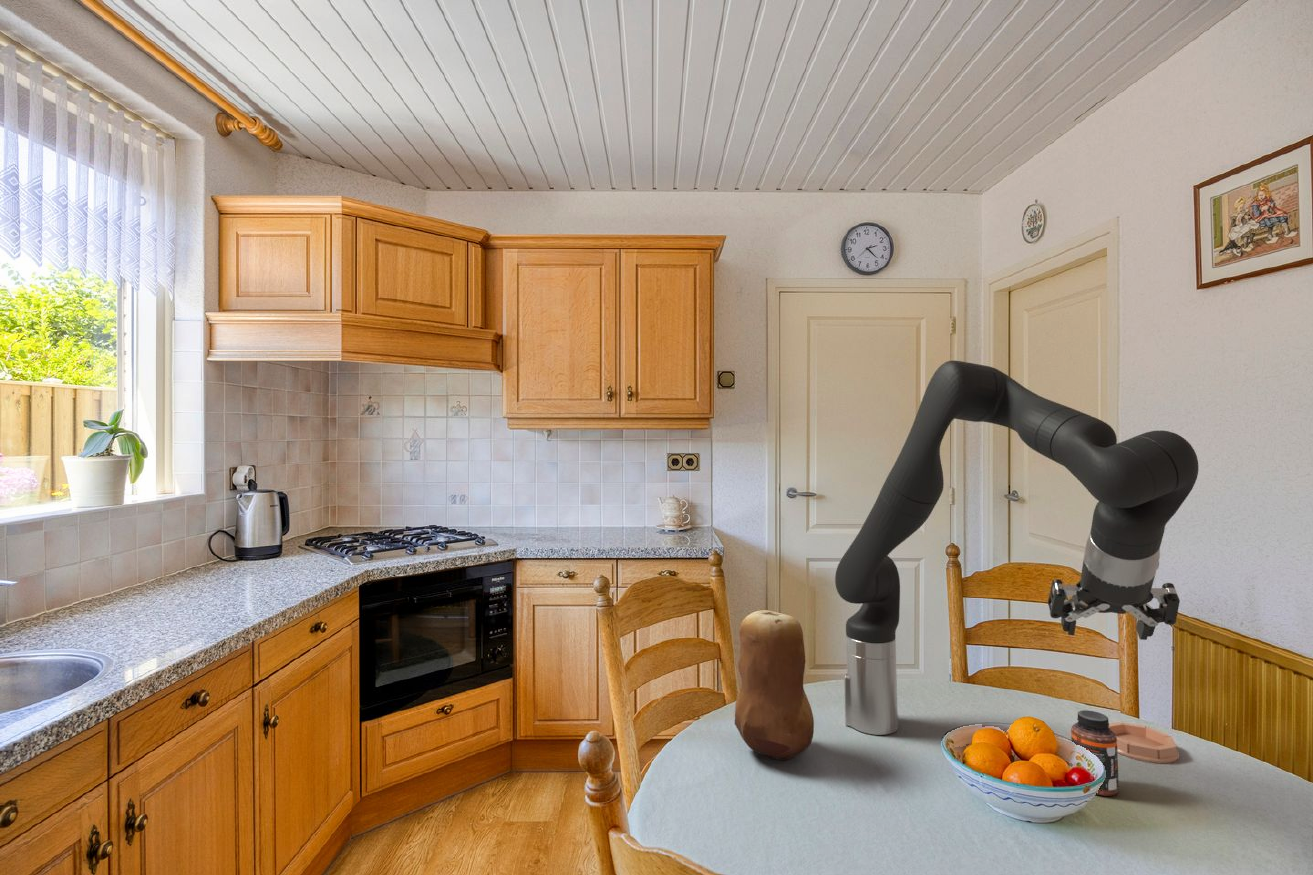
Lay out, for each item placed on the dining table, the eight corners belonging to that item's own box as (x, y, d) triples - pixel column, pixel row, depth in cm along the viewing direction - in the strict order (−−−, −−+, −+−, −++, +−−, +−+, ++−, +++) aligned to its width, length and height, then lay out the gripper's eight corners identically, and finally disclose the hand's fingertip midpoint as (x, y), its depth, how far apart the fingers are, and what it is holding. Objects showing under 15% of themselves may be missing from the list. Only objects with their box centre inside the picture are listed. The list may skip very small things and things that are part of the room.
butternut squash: (808, 737, 114) (805, 603, 115) (820, 774, 101) (816, 623, 102) (734, 734, 116) (731, 603, 116) (736, 771, 102) (733, 622, 103)
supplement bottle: (1127, 799, 92) (1124, 724, 93) (1083, 795, 93) (1081, 721, 94) (1106, 778, 98) (1104, 708, 98) (1065, 775, 99) (1063, 705, 100)
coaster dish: (1104, 753, 106) (1103, 740, 106) (1097, 728, 116) (1096, 716, 116) (1186, 769, 101) (1185, 755, 101) (1171, 741, 110) (1171, 729, 110)
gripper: (1179, 539, 78) (1157, 612, 88) (1049, 538, 84) (1042, 607, 93) (1200, 587, 73) (1174, 660, 82) (1060, 582, 79) (1051, 650, 88)
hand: (1104, 631), depth 88 cm, fingers open, 8 cm apart
